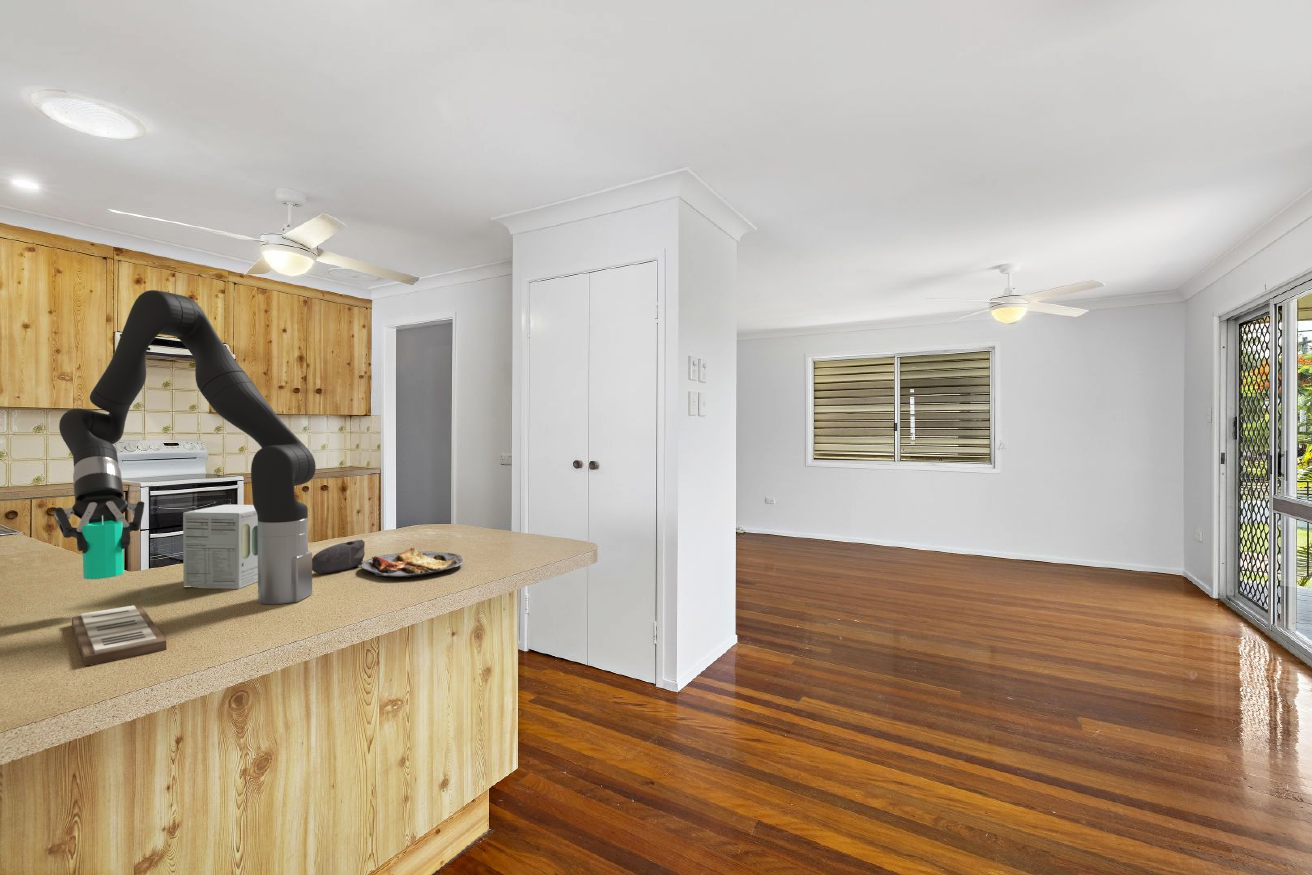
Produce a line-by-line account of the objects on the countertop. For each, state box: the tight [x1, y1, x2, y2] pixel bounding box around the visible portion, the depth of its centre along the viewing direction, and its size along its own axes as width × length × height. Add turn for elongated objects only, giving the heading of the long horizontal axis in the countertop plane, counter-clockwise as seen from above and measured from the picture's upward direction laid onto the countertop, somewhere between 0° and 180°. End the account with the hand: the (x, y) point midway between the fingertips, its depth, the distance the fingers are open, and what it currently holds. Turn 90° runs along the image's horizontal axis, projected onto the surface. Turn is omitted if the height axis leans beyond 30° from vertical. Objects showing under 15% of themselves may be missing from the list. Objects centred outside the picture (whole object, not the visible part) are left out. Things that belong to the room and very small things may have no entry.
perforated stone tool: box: [312, 539, 365, 574], centre depth 156 cm, size 15×5×7 cm, turn 149°
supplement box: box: [182, 504, 258, 590], centre depth 145 cm, size 13×13×18 cm
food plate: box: [359, 547, 465, 578], centre depth 159 cm, size 25×23×4 cm
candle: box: [82, 516, 125, 580], centre depth 121 cm, size 6×6×12 cm
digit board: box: [71, 605, 168, 667], centre depth 108 cm, size 27×10×2 cm, turn 47°
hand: (105, 548), depth 120 cm, fingers closed on candle, 5 cm apart
